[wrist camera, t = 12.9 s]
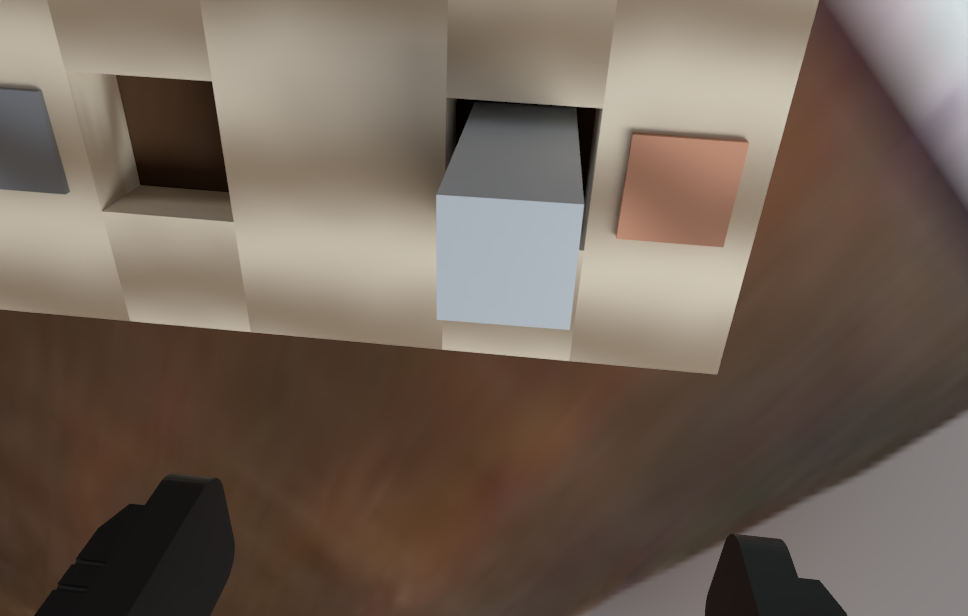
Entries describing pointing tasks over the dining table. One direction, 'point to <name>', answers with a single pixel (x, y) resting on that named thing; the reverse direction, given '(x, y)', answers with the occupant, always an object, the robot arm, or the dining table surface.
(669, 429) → the dining table surface
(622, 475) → the dining table surface
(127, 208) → the socket block
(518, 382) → the dining table surface
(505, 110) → the plug
